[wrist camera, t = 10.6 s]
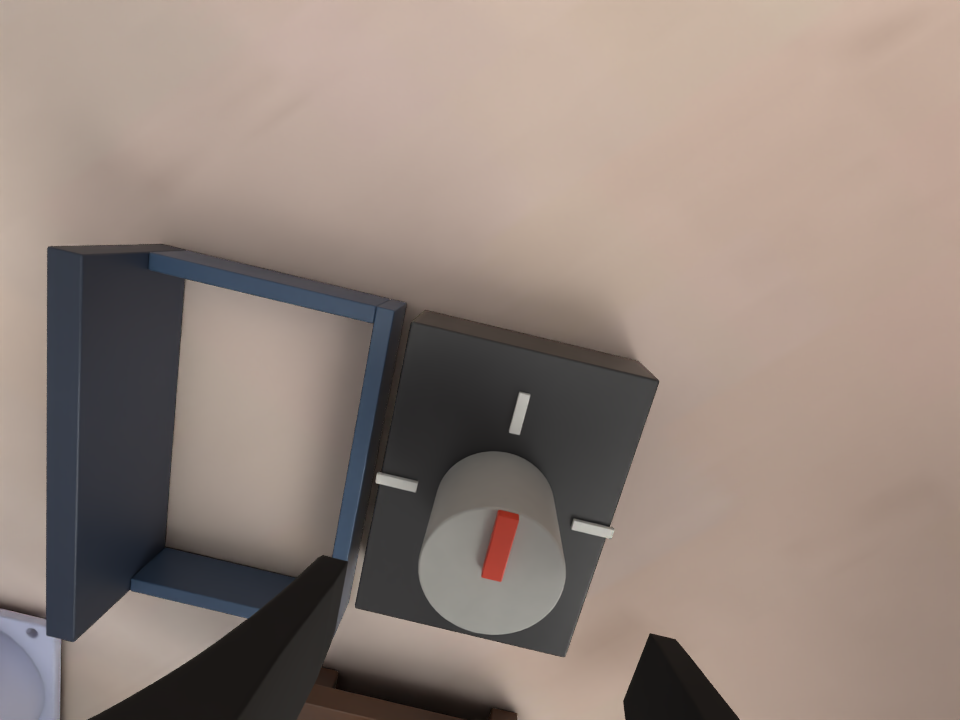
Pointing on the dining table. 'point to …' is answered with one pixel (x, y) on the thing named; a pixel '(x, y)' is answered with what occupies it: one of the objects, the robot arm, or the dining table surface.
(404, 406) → the panel
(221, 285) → the bin
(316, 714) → the square wooden board
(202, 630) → the dining table surface
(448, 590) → the dial
